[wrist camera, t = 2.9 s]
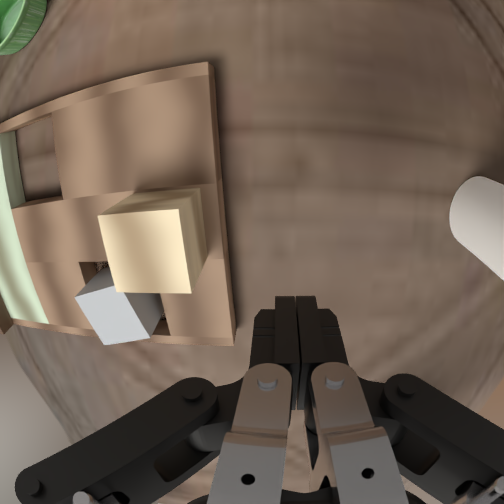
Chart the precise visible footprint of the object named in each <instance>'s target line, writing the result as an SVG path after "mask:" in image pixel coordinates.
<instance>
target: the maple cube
mask: <svg viewBox="0 0 504 504" xmlns="http://www.w3.org/2000/svg"><path fill="white" fill-rule="evenodd" d="M98 220H99V225H100V229H101V234H102V238H103V243H104V247H105V251H106V255H107V259H108V263H109V267H110V270H111V274H112V278H113V281H114V285H115V288H116V292H129V293H192V291H193V289H194V287H195V284H196V282H197V280H198V278H199V275H200V273H201V271H202V269H203V266H204V264H205V262H206V260H207V257H208V254H207V246H206V238H205V229H204V220H203V212H202V202H201V193H200V188H191V189H178V190H166V191H155V192H145V193H135V194H131V195H130V196H128V197H127V198H125V199H123V200H122V201H120V202H118V203H117V204H115V205H114V206H112V207H110V208H109V209H107V210H106V211H104V212H102V213H101V214H99V215H98Z"/></svg>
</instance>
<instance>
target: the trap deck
mask: <svg viewBox="0 0 504 504" xmlns="http://www.w3.org/2000/svg"><path fill="white" fill-rule="evenodd" d="M51 116H52V124H53V135H54V144H55V152H56V159H57V166H58V173H59V179H60V184H61V190H62V195H61V196H55V197H50V198H44V199H39V200H33V201H28V202H26V201H25V196H24V191H23V186H22V180H21V174H20V168H19V161H18V154H17V146H16V137H15V131H16V130H18V129H20V128H23V127H25V126H28V125H30V124H33V123H35V122H38V121H40V120H43V119H46V118H48V117H51ZM191 188H200V193H201V202H202V212H203V220H204V229H205V238H206V246H207V254H208V257H207V260H206V262H205V264H204V266H203V269H202V271H201V273H200V275H199V278H198V280H197V282H196V284H195V287H194V289H193V291H192V293H160V295H161V299H162V303H163V307H164V311H165V315H166V319H167V320H159V322H158V324H157V326H156V328H155V330H154V332H153V334H152V336H151V338H147V339H141V340H135V341H141V342H154V343H169V344H188V345H216V346H234V341H235V335H236V321H235V311H234V302H233V292H232V282H231V272H230V262H229V252H228V241H227V231H226V219H225V208H224V197H223V185H222V172H221V160H220V147H219V133H218V119H217V104H216V89H215V72H214V67H213V66H212V65H211V64H210V63H209V62H202V63H195V64H188V65H182V66H176V67H170V68H165V69H160V70H155V71H150V72H145V73H141V74H137V75H133V76H128V77H124V78H121V79H117V80H113V81H110V82H106V83H103V84H99V85H96V86H93V87H89V88H86V89H83V90H80V91H77V92H74V93H71V94H69V95H66V96H63V97H60V98H58V99H55V100H52V101H50V102H47V103H45V104H42V105H40V106H38V107H35V108H33V109H30V110H28V111H26V112H24V113H21V114H19V115H17V116H15V117H13V118H11V119H9V120H7V121H5V122H3V123H1V124H0V334H5V333H6V332H7V331H8V330H9V328H10V327H11V326H12V325H13V324H17V325H22V326H27V327H33V328H39V329H44V330H50V331H57V332H63V333H70V334H77V335H85V336H93V337H99V336H98V335H97V333H96V332H95V330H94V329H93V327H92V325H91V324H90V322H89V321H88V319H87V317H86V316H85V314H84V313H83V311H82V309H81V308H80V306H79V304H78V303H77V301H76V299H75V298H74V297H75V296H76V295H77V294H78V293H79V292H80V291H81V290H82V288H83V287H84V286H85V285H86V284H87V283H88V282H89V281H90V280H91V279H92V278H93V277H94V276H95V275H96V274H97V271H96V267H95V264H94V262H99V261H108V259H107V255H106V251H105V247H104V243H103V238H102V234H101V229H100V225H99V220H98V215H99V214H101V213H102V212H104V211H106V210H107V209H109V208H110V207H112V206H114V205H115V204H117V203H118V202H120V201H122V200H123V199H125V198H127V197H128V196H130V195H131V194H135V193H145V192H155V191H166V190H178V189H191Z"/></svg>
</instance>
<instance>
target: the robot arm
mask: <svg viewBox="0 0 504 504" xmlns="http://www.w3.org/2000/svg"><path fill="white" fill-rule="evenodd" d="M296 398H297V410H304V413H305V421H304V427H303V428H304V437H305V444H306V451H307V458H308V466H309V474H310V481H309V493H299V492H293V491H288V490H283V489H282V483H283V474H284V465H285V455H286V445H287V434H288V427H289V425H290V420H291V410H295V407H296ZM218 455H219V459H218V463H217V467H216V471H215V474H214V478H213V482H212V486H211V489H210V493H209V494H208V495H205V496H202V497H199V498H197V499H195V500H193V501H191V502H189V503H187V504H426V503H425V502H423V501H422V500H421V499H420V498H418V497H417V496H415V495H414V494H412V493H410V492H408V491H406V490H405V488H404V485H403V482H402V478H401V475H403V476H404V477H405V478H407V479H408V480H410V481H411V482H412V483H414V484H415V485H417V486H418V487H420V488H421V489H422V490H424V491H425V492H427V493H428V494H430V495H431V496H433V497H434V498H436V499H437V500H439V501H440V502H442V503H443V504H504V430H503V429H502V428H500V427H498V426H497V425H495V424H494V423H492V422H490V421H489V420H487V419H485V418H483V417H482V416H480V415H479V414H477V413H475V412H474V411H472V410H470V409H469V408H467V407H465V406H464V405H462V404H460V403H459V402H457V401H455V400H454V399H452V398H451V397H449V396H447V395H446V394H444V393H442V392H441V391H439V390H437V389H436V388H434V387H433V386H431V385H429V384H428V383H426V382H425V381H423V380H421V379H420V378H418V377H416V376H414V375H411V374H397V375H394V376H392V377H391V378H389V379H388V380H387V382H386V383H379V382H373V381H368V380H365V379H362V378H360V377H358V376H357V374H356V372H355V371H354V370H353V369H352V368H351V367H350V366H349V364H348V360H347V356H346V352H345V348H344V344H343V340H342V336H341V332H340V328H339V324H338V321H337V317H336V316H335V315H334V314H333V312H332V311H331V310H330V309H318V308H317V302H316V297H315V296H296V298H295V297H294V296H275V309H261V310H260V311H259V313H258V314H257V315H256V317H255V319H254V329H253V338H252V347H251V356H250V366H249V370H248V371H247V372H246V374H245V375H244V377H243V378H241V379H240V380H238V381H236V382H234V383H231V384H228V385H223V386H218V387H215V386H214V385H213V384H212V383H211V382H210V381H208V380H206V379H203V378H198V377H191V378H186V379H183V380H181V381H179V382H177V383H175V384H174V385H172V386H171V387H169V388H168V389H166V390H165V391H163V392H161V393H160V394H158V395H157V396H155V397H153V398H152V399H150V400H149V401H147V402H145V403H144V404H142V405H140V406H139V407H137V408H136V409H134V410H132V411H131V412H129V413H127V414H126V415H124V416H122V417H121V418H119V419H117V420H115V421H114V422H112V423H110V424H109V425H107V426H105V427H103V428H102V429H100V430H98V431H96V432H95V433H93V434H91V435H89V436H87V437H86V438H84V439H82V440H80V441H78V442H77V443H75V444H73V445H71V446H69V447H68V448H65V449H64V450H62V451H60V452H58V453H56V454H54V455H52V456H50V457H49V458H46V459H44V460H42V461H40V462H38V463H36V464H34V465H32V466H30V467H28V468H26V469H24V470H23V471H22V472H20V474H19V475H18V477H17V479H16V482H15V492H16V495H17V497H18V499H19V501H20V502H21V503H22V504H152V503H153V502H155V501H156V500H158V499H159V498H161V497H162V496H164V495H165V494H167V493H168V492H170V491H171V490H173V489H174V488H176V487H177V486H178V485H180V484H181V483H183V482H184V481H185V480H187V479H188V478H190V477H191V476H192V475H194V474H195V473H196V472H198V471H199V470H200V469H202V468H203V467H204V466H206V465H207V464H208V463H209V462H211V461H212V460H213V459H215V458H216V457H217V456H218ZM400 474H401V475H400Z"/></svg>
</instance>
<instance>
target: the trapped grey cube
mask: <svg viewBox="0 0 504 504" xmlns="http://www.w3.org/2000/svg"><path fill="white" fill-rule="evenodd" d="M74 298H75V299H76V301H77V303H78V304H79V306H80V308H81V309H82V311H83V313H84V314H85V316H86V317H87V319H88V321H89V322H90V324H91V325H92V327H93V329H94V330H95V332H96V333H97V335H98V336H99V338H100V339H101V341H102V342H103V344H104V345H109V344H116V343H123V342H129V341H135V340H141V339H147V338H151V336H152V334H153V332H154V330H155V328H156V326H157V324H158V322H159V320H160V318H161V316H162V314H163V312H164V307H163V303H162V299H161V295H160V293H129V292H116V288H115V285H114V281H113V278H112V274H111V270H110V267H106V268H103V269H101V270H100V271H99V272H98V273H97V274H96V275H95V276H94V277H93V278H92V279H91V280H90V281H89V282H88V283H87V284H86V285H85V286H84V287H83V288H82V290H81V291H80V292H79V293H78V294H77V295H76V296H75V297H74Z"/></svg>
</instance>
